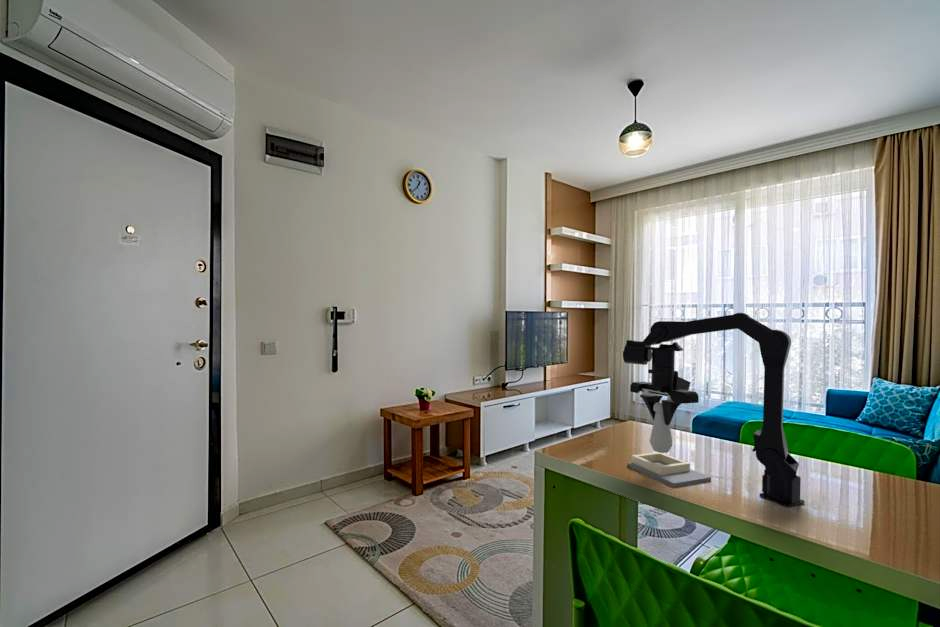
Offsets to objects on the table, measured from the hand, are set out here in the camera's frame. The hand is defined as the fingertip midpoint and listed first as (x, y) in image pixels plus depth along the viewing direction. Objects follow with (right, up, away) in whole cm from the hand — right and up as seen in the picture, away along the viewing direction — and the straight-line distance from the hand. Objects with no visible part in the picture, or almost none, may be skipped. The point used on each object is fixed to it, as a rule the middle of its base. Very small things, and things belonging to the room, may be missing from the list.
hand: (661, 423), depth 118 cm
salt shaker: (0, -8, 0) cm, 8 cm away
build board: (+1, -13, -2) cm, 13 cm away
